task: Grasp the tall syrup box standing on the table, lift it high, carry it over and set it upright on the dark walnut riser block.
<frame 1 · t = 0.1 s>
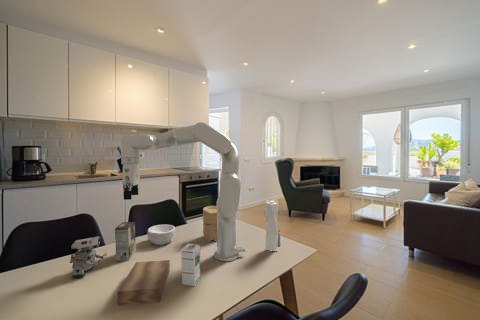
hand: (131, 197, 105), 31 cm above the table, tool pointing down, fingers open, 9 cm apart
paper bowls: (161, 242, 130), on the table
figurine: (88, 272, 98), on the table
coffee box: (126, 256, 112), on the table
skyscraper: (272, 250, 121), on the table
container: (213, 237, 136), on the table
syrup box: (191, 281, 91), on the table
walnut riser: (146, 286, 88), on the table
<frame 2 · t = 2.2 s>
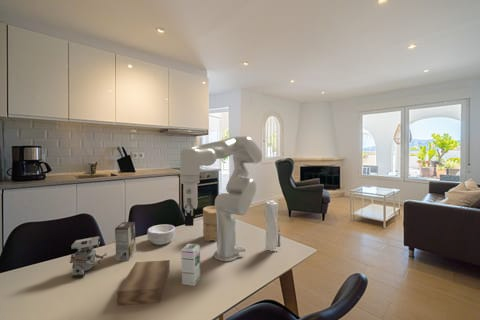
hand: (190, 221, 90), 25 cm above the table, tool pointing down, fingers open, 9 cm apart
nothing on the table moved.
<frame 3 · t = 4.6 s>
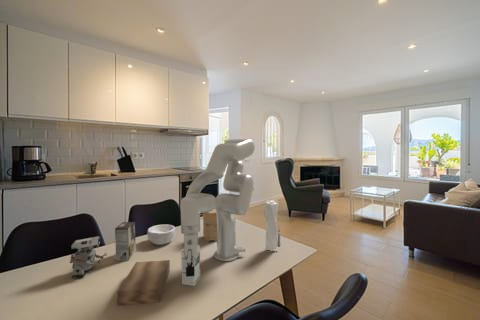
hand: (191, 270, 91), 5 cm above the table, tool pointing down, fingers closed on syrup box, 7 cm apart
syrup box: (191, 281, 91), on the table, touching gripper
everything else where it was.
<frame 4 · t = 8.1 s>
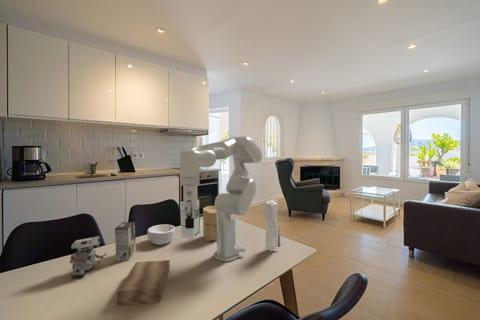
hand: (190, 224, 90), 24 cm above the table, tool pointing down, fingers closed on syrup box, 7 cm apart
syrup box: (190, 236, 90), point 19 cm above the table, touching gripper
everything else where it was.
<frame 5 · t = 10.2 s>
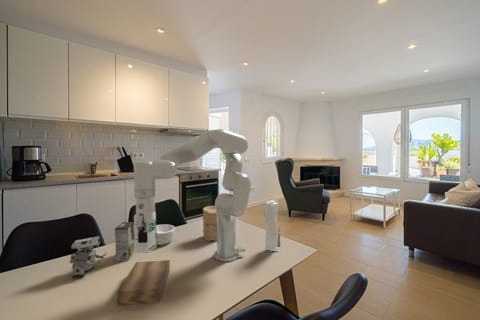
hand: (145, 238, 87), 19 cm above the table, tool pointing down, fingers closed on syrup box, 7 cm apart
syrup box: (145, 250, 87), point 15 cm above the table, touching gripper
everything else where it was.
when the fingers open (11 cm above the table, at t = 12.1 s): syrup box drops 1 cm, resting on walnut riser.
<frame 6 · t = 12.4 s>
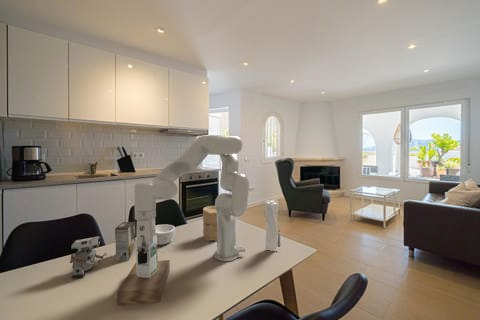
hand: (146, 257, 87), 12 cm above the table, tool pointing down, fingers open, 9 cm apart
syrup box: (147, 274, 88), point 5 cm above the table, touching walnut riser
everything else where it was.
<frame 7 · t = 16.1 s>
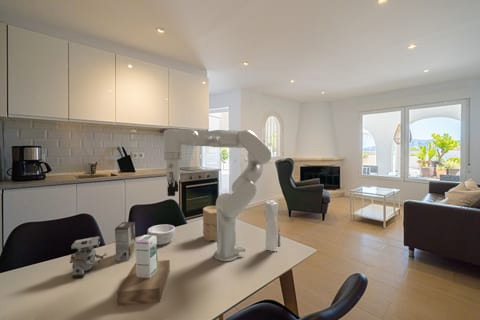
hand: (173, 193, 103), 33 cm above the table, tool pointing down, fingers open, 9 cm apart
nothing on the table moved.
at the end: syrup box inside the target area on the walnut riser (0.2 cm from its centre), point 4.8 cm above the walnut riser's base; syrup box tilted 0°; the gripper is holding nothing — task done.
